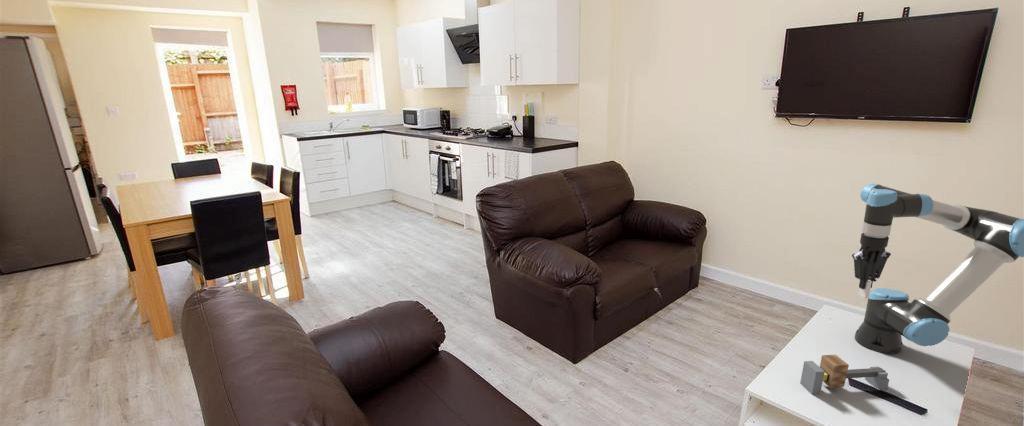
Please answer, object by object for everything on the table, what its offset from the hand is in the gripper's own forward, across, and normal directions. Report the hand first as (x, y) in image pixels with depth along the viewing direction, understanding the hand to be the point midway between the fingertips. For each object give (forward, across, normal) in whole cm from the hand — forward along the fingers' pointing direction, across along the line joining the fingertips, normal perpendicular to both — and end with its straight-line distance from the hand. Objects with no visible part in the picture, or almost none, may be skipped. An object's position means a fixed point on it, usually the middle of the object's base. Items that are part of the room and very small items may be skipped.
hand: (863, 296), depth 164 cm
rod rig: (+28, +12, +11) cm, 32 cm away
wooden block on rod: (+26, +18, +11) cm, 33 cm away
